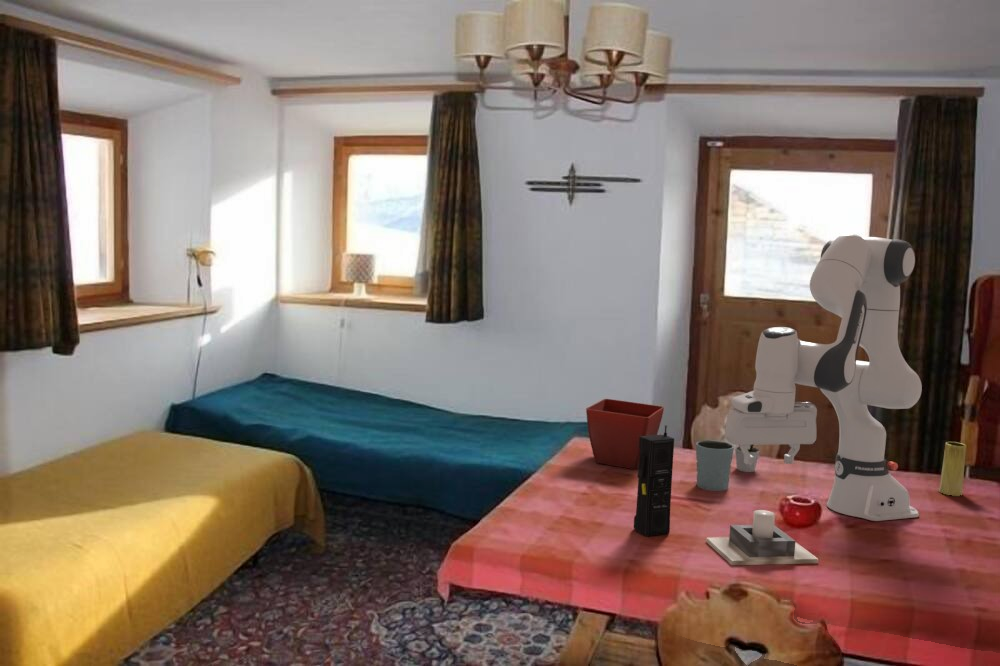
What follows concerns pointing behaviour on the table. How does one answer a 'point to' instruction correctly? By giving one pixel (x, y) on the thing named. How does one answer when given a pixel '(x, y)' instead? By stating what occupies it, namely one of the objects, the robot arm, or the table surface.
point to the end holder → (759, 548)
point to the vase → (953, 469)
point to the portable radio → (654, 484)
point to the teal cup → (713, 464)
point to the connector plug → (763, 524)
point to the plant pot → (621, 430)
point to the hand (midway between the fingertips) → (768, 463)
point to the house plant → (740, 459)
